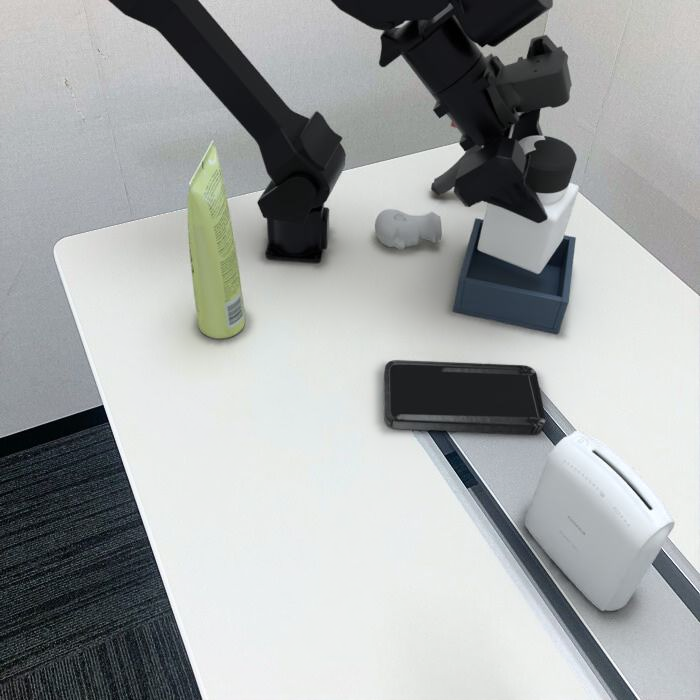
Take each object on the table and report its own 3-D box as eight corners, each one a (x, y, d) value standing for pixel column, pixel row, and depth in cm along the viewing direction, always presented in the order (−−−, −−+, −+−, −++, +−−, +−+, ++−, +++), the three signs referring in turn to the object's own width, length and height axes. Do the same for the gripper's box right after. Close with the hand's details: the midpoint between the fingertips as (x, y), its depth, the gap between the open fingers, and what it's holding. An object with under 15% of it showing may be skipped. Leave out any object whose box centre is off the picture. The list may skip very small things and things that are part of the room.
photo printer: (514, 522, 64) (546, 432, 55) (551, 500, 66) (589, 409, 57) (601, 623, 58) (653, 541, 49) (640, 596, 60) (697, 512, 51)
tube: (187, 314, 80) (160, 153, 66) (230, 298, 82) (213, 138, 68) (211, 347, 77) (188, 184, 63) (255, 329, 79) (242, 167, 65)
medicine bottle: (562, 240, 82) (594, 142, 73) (539, 276, 77) (569, 176, 69) (502, 217, 84) (526, 119, 75) (475, 251, 80) (497, 151, 71)
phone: (547, 427, 70) (385, 420, 70) (544, 434, 71) (384, 428, 70) (534, 364, 75) (384, 358, 75) (532, 372, 76) (384, 366, 76)
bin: (452, 312, 82) (458, 279, 79) (469, 249, 90) (475, 217, 86) (558, 334, 80) (568, 302, 77) (566, 268, 88) (576, 237, 85)
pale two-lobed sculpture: (371, 255, 90) (378, 220, 92) (438, 263, 89) (443, 228, 91) (370, 234, 86) (377, 198, 88) (440, 242, 85) (445, 206, 88)
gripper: (518, 68, 58) (620, 214, 64) (542, -19, 71) (625, 111, 77) (408, 140, 65) (509, 266, 71) (447, 49, 77) (531, 163, 84)
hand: (547, 197), depth 76 cm, fingers closed on medicine bottle, 8 cm apart
